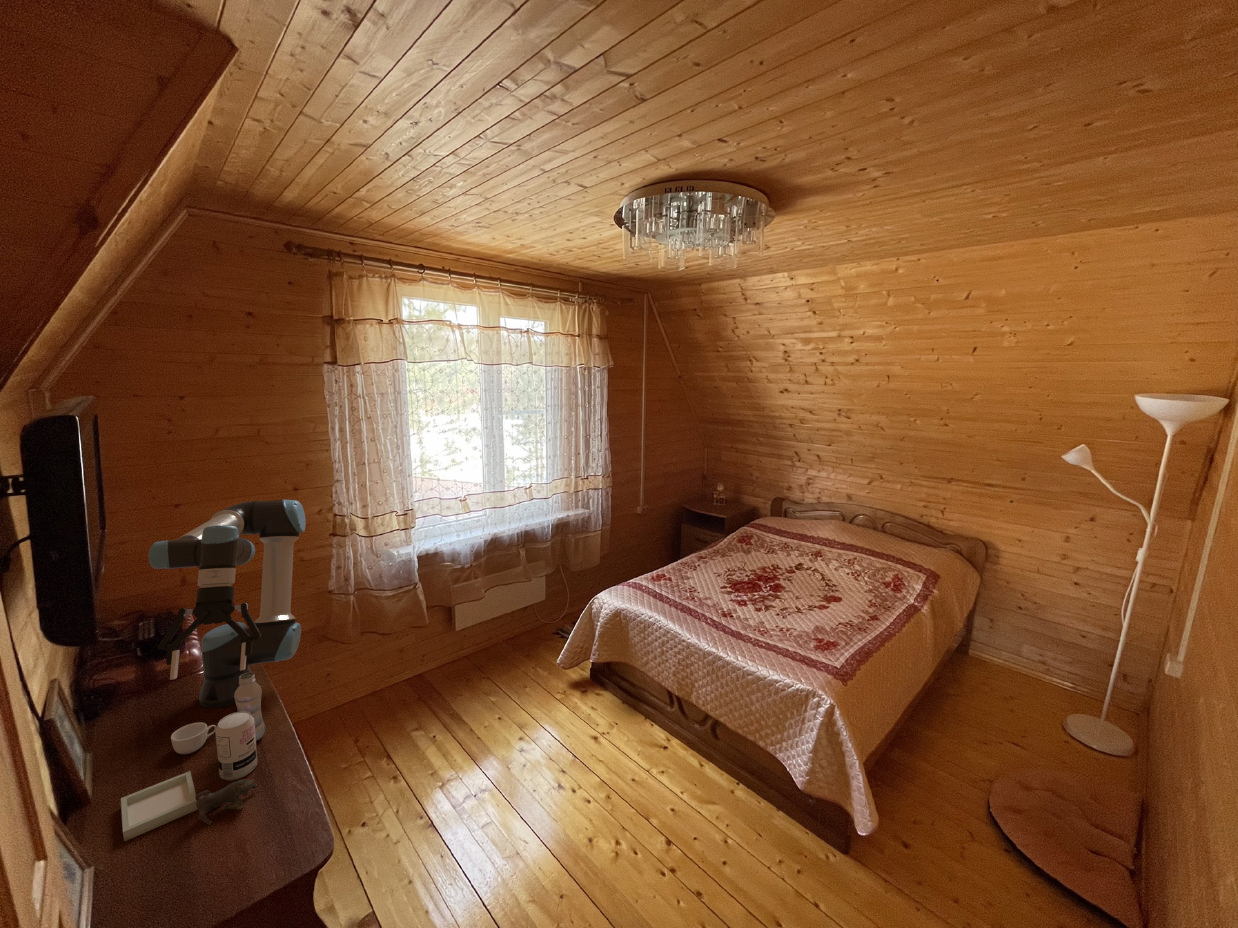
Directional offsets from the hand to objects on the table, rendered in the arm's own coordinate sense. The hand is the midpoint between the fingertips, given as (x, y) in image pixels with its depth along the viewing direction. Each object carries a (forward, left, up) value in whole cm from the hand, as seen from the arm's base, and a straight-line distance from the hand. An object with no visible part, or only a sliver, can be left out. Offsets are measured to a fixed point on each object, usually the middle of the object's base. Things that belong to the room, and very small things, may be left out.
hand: (208, 674), depth 126 cm
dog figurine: (+9, +1, -32) cm, 33 cm away
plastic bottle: (-16, +10, -32) cm, 37 cm away
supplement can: (-4, +5, -32) cm, 32 cm away
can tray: (-2, -11, -32) cm, 34 cm away
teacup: (-23, -2, -32) cm, 39 cm away
